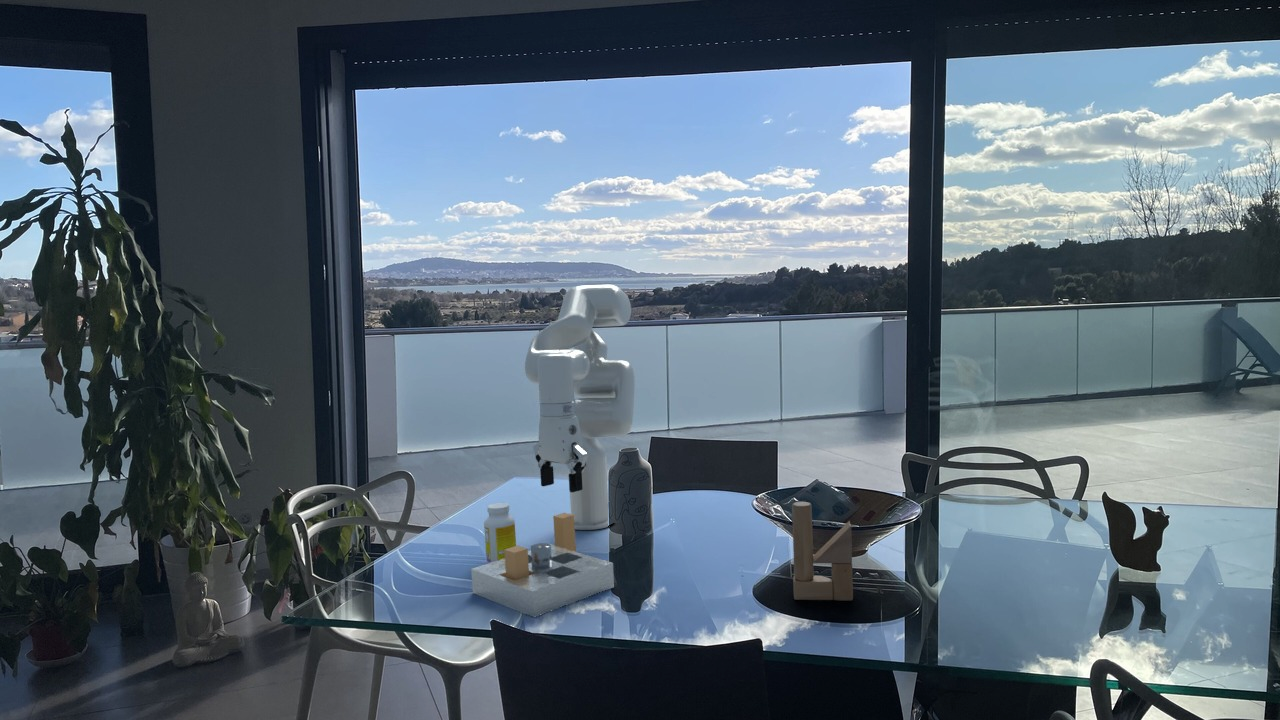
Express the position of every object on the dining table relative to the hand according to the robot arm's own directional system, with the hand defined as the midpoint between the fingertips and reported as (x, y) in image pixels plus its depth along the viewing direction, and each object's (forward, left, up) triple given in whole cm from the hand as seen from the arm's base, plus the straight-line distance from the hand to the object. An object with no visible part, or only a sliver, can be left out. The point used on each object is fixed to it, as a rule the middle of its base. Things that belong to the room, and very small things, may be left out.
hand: (561, 488), depth 195 cm
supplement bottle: (+10, -10, -16) cm, 22 cm away
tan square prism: (0, 0, -16) cm, 16 cm away
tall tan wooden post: (+21, +11, -16) cm, 28 cm away
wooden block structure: (-16, +56, -16) cm, 60 cm away
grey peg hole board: (+15, +11, -16) cm, 24 cm away
